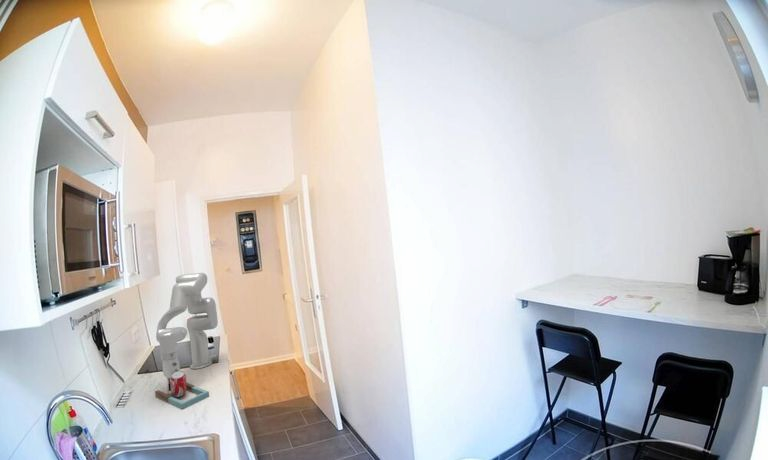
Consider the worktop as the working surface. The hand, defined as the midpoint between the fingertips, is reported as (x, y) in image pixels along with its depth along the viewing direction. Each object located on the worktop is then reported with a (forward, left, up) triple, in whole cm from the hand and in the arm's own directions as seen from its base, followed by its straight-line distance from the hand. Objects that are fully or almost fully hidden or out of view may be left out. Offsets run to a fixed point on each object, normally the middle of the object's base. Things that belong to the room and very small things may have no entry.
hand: (172, 389), depth 183 cm
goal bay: (-1, +14, -2) cm, 14 cm away
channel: (-1, +1, -2) cm, 3 cm away
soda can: (-1, +4, -2) cm, 5 cm away
